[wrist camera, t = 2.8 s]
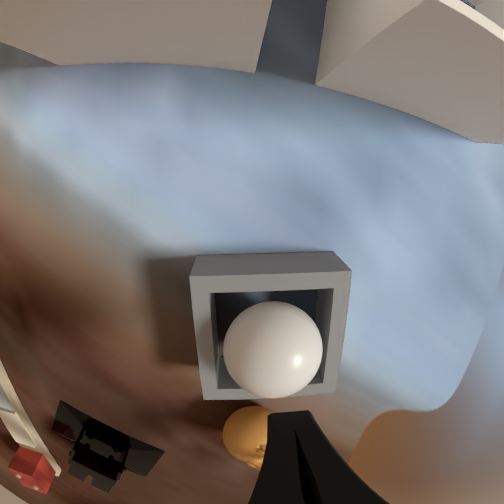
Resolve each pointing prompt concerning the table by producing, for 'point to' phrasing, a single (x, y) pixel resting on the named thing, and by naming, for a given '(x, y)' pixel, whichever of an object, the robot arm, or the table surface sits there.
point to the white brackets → (331, 52)
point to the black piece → (101, 448)
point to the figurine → (247, 434)
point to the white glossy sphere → (272, 349)
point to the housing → (269, 279)
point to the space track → (25, 442)
